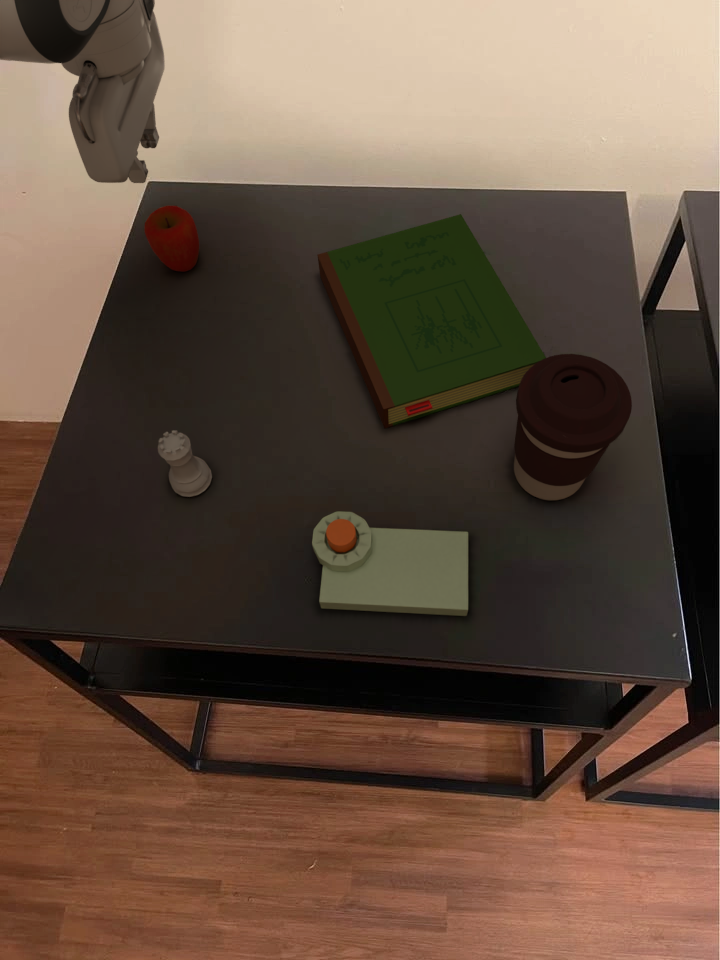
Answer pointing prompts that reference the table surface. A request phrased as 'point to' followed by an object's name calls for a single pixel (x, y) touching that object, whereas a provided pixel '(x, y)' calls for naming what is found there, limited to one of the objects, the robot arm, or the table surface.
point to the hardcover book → (427, 319)
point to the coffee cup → (566, 422)
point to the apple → (173, 237)
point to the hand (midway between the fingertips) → (145, 161)
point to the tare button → (341, 535)
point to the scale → (394, 569)
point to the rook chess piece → (184, 465)
